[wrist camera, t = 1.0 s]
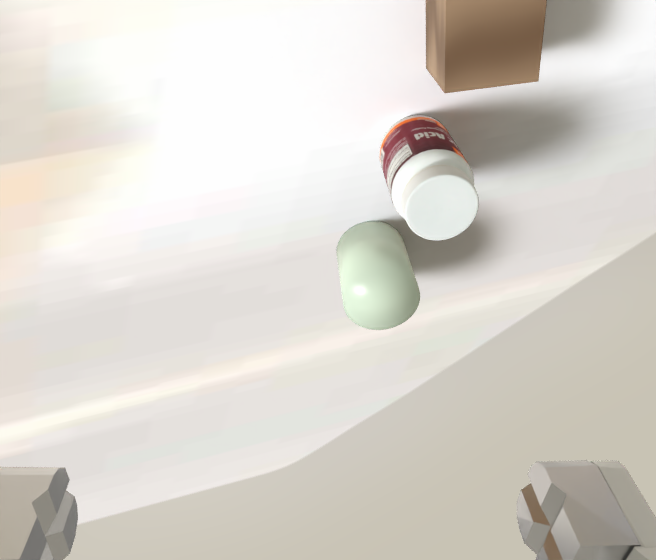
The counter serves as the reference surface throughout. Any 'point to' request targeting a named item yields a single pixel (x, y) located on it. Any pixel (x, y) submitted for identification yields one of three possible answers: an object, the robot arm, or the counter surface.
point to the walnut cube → (483, 42)
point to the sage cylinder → (376, 276)
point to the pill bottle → (428, 178)
